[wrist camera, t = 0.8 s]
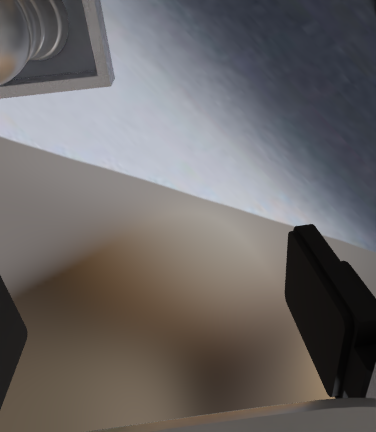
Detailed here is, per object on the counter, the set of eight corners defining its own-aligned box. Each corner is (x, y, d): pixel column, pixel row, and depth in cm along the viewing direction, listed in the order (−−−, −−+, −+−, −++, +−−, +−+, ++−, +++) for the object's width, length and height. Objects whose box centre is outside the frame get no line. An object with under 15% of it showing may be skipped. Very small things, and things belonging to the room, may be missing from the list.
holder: (-55, -55, 30) (-82, -63, 26) (87, -69, 30) (78, -79, 27) (-2, 91, 36) (-19, 100, 33) (114, 78, 36) (110, 86, 33)
